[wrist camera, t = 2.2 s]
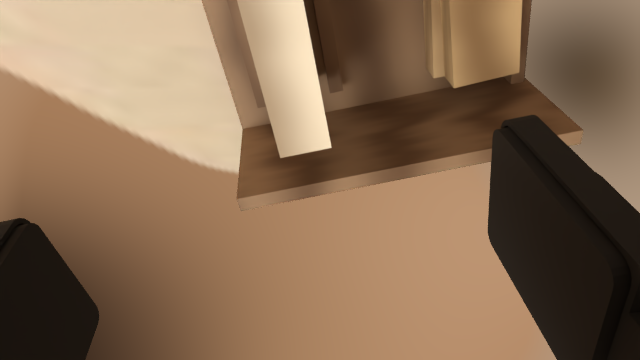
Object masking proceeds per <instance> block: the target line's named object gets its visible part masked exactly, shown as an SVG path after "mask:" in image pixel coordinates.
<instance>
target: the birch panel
mask: <svg viewBox="0 0 640 360" xmlns="http://www.w3.org/2000/svg"><path fill="white" fill-rule="evenodd" d="M237 2H238V6H239V10H240V13H241V17H242V20H243V24H244V28H245V31H246V35H247V39H248V42H249V46H250V50H251V53H252V57H253V60H254V64H255V68H256V71H257V75H258V79H259V82H260V86H261V89H262V93H263V97H264V100H265V104H266V108H267V111H268V115H269V118H270V122H271V126H272V129H273V133H274V137H275V140H276V144H277V148H278V151H279V155H280V158H283V157H288V156H293V155H298V154H303V153H308V152H313V151H318V150H323V149H328V148H332V147H331V142H330V137H329V132H328V126H327V121H326V116H325V111H324V106H323V100H322V95H321V90H320V85H319V80H318V74H317V69H316V64H315V59H314V54H313V49H312V43H311V38H310V33H309V28H308V23H307V17H306V12H305V7H304V2H303V0H237Z"/></svg>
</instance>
